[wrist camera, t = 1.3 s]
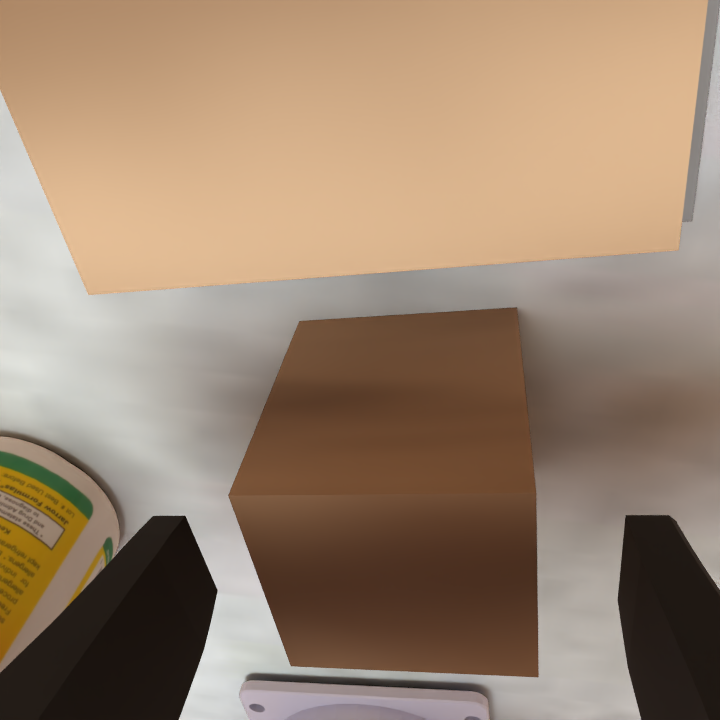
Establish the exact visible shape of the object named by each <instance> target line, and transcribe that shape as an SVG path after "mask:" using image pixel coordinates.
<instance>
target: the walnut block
mask: <svg viewBox="0 0 720 720" xmlns="http://www.w3.org/2000/svg"><path fill="white" fill-rule="evenodd" d="M228 496H229V499H230V501H231V504H232V507H233V510H234V512H235V515H236V518H237V521H238V523H239V526H240V529H241V531H242V534H243V537H244V540H245V542H246V545H247V548H248V550H249V553H250V556H251V559H252V561H253V564H254V567H255V570H256V572H257V575H258V578H259V580H260V583H261V586H262V589H263V591H264V594H265V597H266V600H267V602H268V605H269V608H270V610H271V613H272V616H273V619H274V621H275V624H276V627H277V629H278V632H279V635H280V638H281V640H282V643H283V646H284V649H285V651H286V654H287V657H288V659H289V662H290V665H291V666H298V667H320V668H343V669H365V670H388V671H410V672H433V673H455V674H477V675H500V676H522V677H538V600H537V521H536V487H535V477H534V467H533V458H532V448H531V439H530V429H529V419H528V410H527V400H526V390H525V381H524V371H523V361H522V352H521V342H520V332H519V323H518V313H517V308H501V309H485V310H469V311H453V312H437V313H421V314H405V315H389V316H373V317H357V318H341V319H325V320H309V321H299V323H298V326H297V328H296V330H295V333H294V335H293V338H292V340H291V343H290V345H289V348H288V350H287V353H286V355H285V358H284V360H283V362H282V365H281V367H280V370H279V372H278V375H277V377H276V380H275V382H274V385H273V387H272V390H271V392H270V394H269V397H268V399H267V402H266V404H265V407H264V409H263V412H262V414H261V417H260V419H259V422H258V424H257V426H256V429H255V431H254V434H253V436H252V439H251V441H250V444H249V446H248V449H247V451H246V454H245V456H244V458H243V461H242V463H241V466H240V468H239V471H238V473H237V476H236V478H235V481H234V483H233V486H232V488H231V490H230V493H229V495H228Z"/></svg>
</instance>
